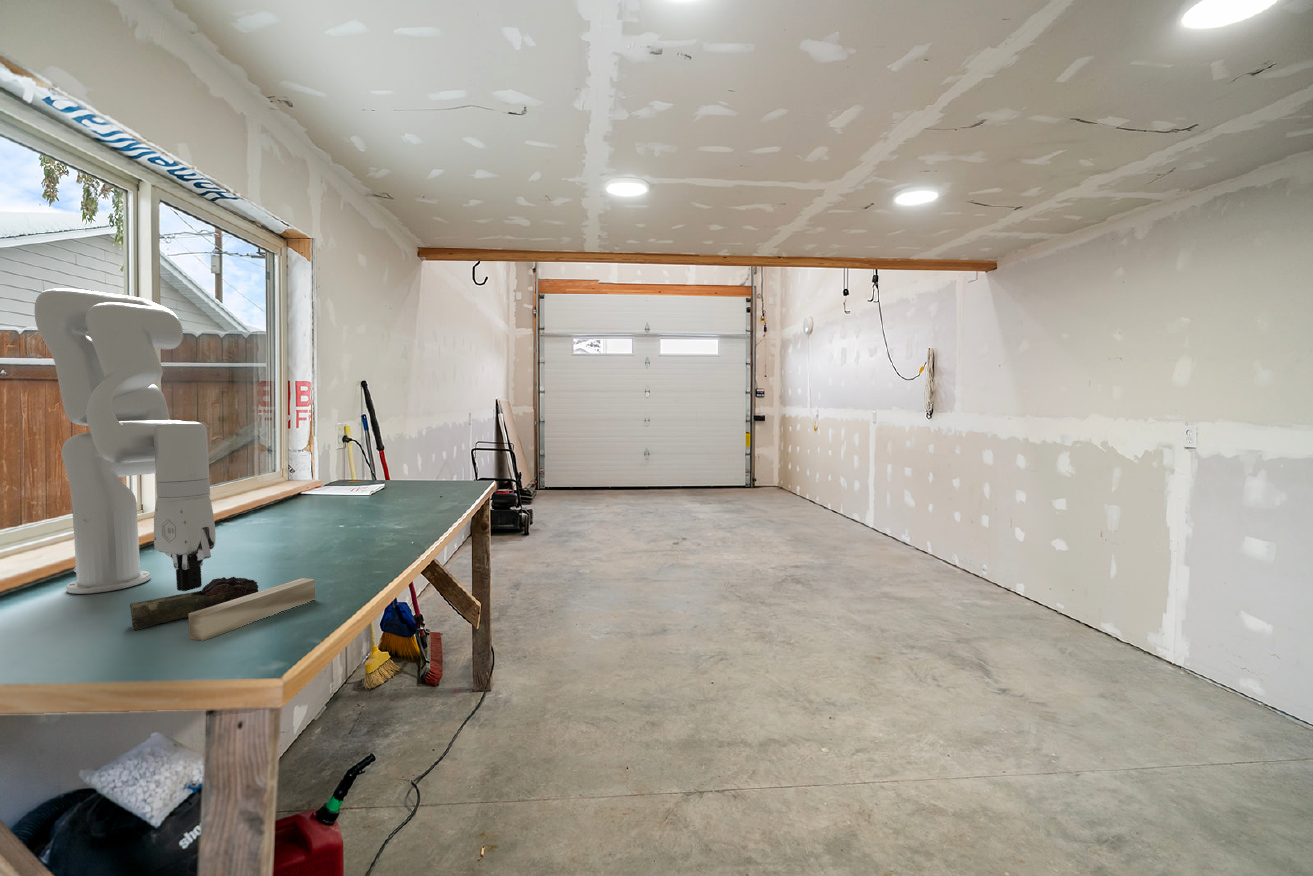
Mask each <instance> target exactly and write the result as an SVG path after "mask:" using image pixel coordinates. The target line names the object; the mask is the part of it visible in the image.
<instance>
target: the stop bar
mask: <svg viewBox="0 0 1313 876" xmlns="http://www.w3.org/2000/svg"><path fill="white" fill-rule="evenodd" d="M315 580H316V579H314V578H307V577H302V578H299V579H295V580H292V581H289V582H286V583H282V584H280V585H275V586H273V587H269V588H266V589H263V590H258V592H256V593H253V594H250V595H247V596H243V597H240V598H237V599H234V600H231V601H227V602H224V603H221V604H218V605H215V606H211V607H208V608H205V609H202V610H199V611H195V612H192V613H189V614H188V616H189V617H188V629H189V630H188V631H189V639H190V640H196V641H201V642H203V641H207V640H209V639H212V638H214V637H215V638H216V637H218V636H221V635H223V634H225V633H228V632H231V631H234V630H237V629H240V628H243V627H245V626H247V625H246V624H248V623H251V624H253V623H252V622H254V621H256V620H258V619H261V618H265V617H268V616H270V615H272V614H276V613H279V612H281V611H283V610H285V609H290V608H292V607H295V606H297V605H301V604H304V605H306V604H308V603H307V602H309V601H311V600H315V601H316V581H315ZM305 603H306V604H305ZM309 603H310V602H309ZM301 606H302V605H301ZM295 608H296V607H295ZM290 610H291V609H290ZM281 613H282V612H281ZM279 614H280V613H279ZM276 615H277V614H276ZM270 617H271V616H270ZM268 618H269V617H268ZM265 619H266V618H265ZM254 623H255V622H254ZM244 625H245V626H244ZM248 625H249V624H248ZM242 626H243V627H242ZM239 627H240V628H239Z"/></svg>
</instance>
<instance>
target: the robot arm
mask: <svg viewBox="0 0 1313 876" xmlns="http://www.w3.org/2000/svg"><path fill="white" fill-rule="evenodd" d="M34 318H35V324H36V327H37V330H38V334H39V335H40V337H41V339H42V340H43V342H44V344H45V346H46V348H47V349H48V351H49V352H50V354H51V357H52V359H53V362H54V366H55V370H56V375H57V381H58V386H59V391H60V396H61V397H60V398H61V402H62V406H63V409H64V413H65V415H66V417H67V419H68V420H69V421H70V422H71V424H74V425H78V426H85V427H88V430H89V431H88V432H82V433H81V432H80V433H78V434H74V435H72V436H71V437H69V438H67V439H66V440H65V441H64V442H63V445H62V448H61V457H62V463H63V466H64V470H65V472H66V476H67V479H68V484H69V489H70V496H71V499H70V500H71V510H72V511H71V512H72V522H73V523H72V524H73V539H74V540H73V543H74V556H75V557H74V558H75V559H74V560H75V567H74V568H73V573H74V572H75V573H76V574H75V575H76V580H73V581H71V582H69V583H68V584H66V586H65V587H66V592H67V593H69V594H74V595H75V594H77V595H82V594H83V595H85V594H96V593H98V594H99V593H105V592H112V591H117V590H122V589H126V588H131V587H134V586H138V585H142V584H143V583H146V582H147V581H149V580H150V579H151V573H150V572H149V571H146V570H141V563H140V559H141V558H140V544H139V543H140V541H139V525H138V512H137V511H138V508H137V499H136V496H135V494H134V492H133V491H132V490H131V489H130V487H128V486H127V485H126V484H125V483H124V482H122V481H121V480H120V479H121V478H124V477H131V476H142V475H143V476H144V475H152V474H153V475H154V474H155V477H156V478H155V479H156V501H155V506H154V518H153V546H154V547H153V548H154V549H155V550H156V551H158V552H159V553H164V554H165V556H168V557H169V558H171V559H172V564H173V568H174V569H175V575H176V576H175V577H176V590H177V591H180V592H187V591H192V590H195V589H198V588H201V587H202V585H203V584H202V566H203V564H204V563H203V561H204V560H206V559H210V558H211V557H212V554H211V550H212V549H214V547H215V546H216V534H217V533H216V524H215V523H216V522H215V517H214V516H215V515H214V509H213V505H212V499H211V497H210V496H211V483H210V482H211V481H210V465H209V464H210V462H209V460H210V459H209V444H208V443H209V442H208V430H207V428H206V426H205V424H203V422H202V423H201V422H198V421H184V420H177V419H175V420H173V419H170V413H169V409H168V408H169V407H168V404H167V400H166V398H165V397H166V396H165V395H164V393H163V392H162V390H161V389H160V388H159V387H158V385H156V383H157V382H159V381H160V380H161V379H162V377H163V374H164V371H163V370H164V369H163V367H162V364H161V362H160V359H159V357H158V355H157V352H156V350H174V349H176V348H178V347H179V346H180V345H181V343H182V341H183V338H184V331H183V325H182V323H181V321H180V319H179V317H178V316H177V315H176V314H175V313H174V312H173V311H172V310H170V309H169V308H167V307H165V306H163V305H160V304H158V303H155V302H153V301H151V300H149V299H145V298H141V297H136V296H131V295H130V296H129V295H122V294H114V293H106V292H99V291H93V290H92V291H91V290H86V289H78V288H52V289H47V290H43V291H42V292H41V293H39V295H38V296H37V297H36V299H35V302H34ZM87 334H88V335H89V336H88V335H87Z"/></svg>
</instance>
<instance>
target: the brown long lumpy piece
mask: <svg viewBox="0 0 1313 876" xmlns="http://www.w3.org/2000/svg"><path fill="white" fill-rule="evenodd" d="M256 592H259V585H258V582H257V581H255V580H254V579H248V578H247V577H246V578H245V577H235V576H231V577H229V578H226V577H224V576H223V577H221V578H220V577H219V578H213V579H212V580H211V581H209V583H207V584H206V585H205V586H203V588H202V590H197V591H192V592H185V593H180V594H175V595H170V596H165V597H159V598H155V599H149V600H141V601H138V602H133V603H130V604H129V607H130V608H129V609H130V616H131V622H132V625H131V626H132V628H133V627H134V629H133V631H137V629H138V630H141V628H142V629H145V627H146V628H149V627H152V626H153V625H154V626H157V625H160V623H161V624H166V623H168V622H173V621H175V620H180V619H184V618H189V616H188V614H189V613H192V612H195V611H199V610H202V609H205V608H208V607H211V606H215V605H218V604H221V603H224V602H227V601H231V600H234V599H237V598H240V597H243V596H247V595H250V594H253V593H256ZM156 624H157V625H156Z"/></svg>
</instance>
